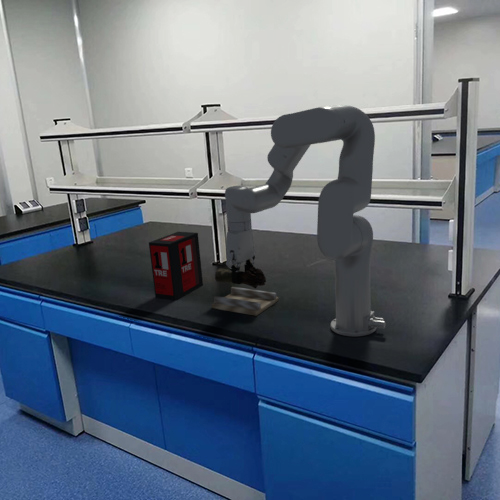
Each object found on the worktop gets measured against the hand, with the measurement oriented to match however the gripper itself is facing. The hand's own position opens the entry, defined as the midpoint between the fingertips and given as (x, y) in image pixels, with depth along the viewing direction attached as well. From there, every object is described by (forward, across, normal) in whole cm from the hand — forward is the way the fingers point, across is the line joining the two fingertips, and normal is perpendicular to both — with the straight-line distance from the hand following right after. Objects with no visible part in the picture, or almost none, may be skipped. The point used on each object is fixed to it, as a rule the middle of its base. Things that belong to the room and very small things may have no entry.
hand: (243, 279), depth 163 cm
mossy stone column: (+2, 0, 0) cm, 2 cm away
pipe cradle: (+8, 0, 0) cm, 8 cm away
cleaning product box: (+9, -2, -29) cm, 31 cm away
